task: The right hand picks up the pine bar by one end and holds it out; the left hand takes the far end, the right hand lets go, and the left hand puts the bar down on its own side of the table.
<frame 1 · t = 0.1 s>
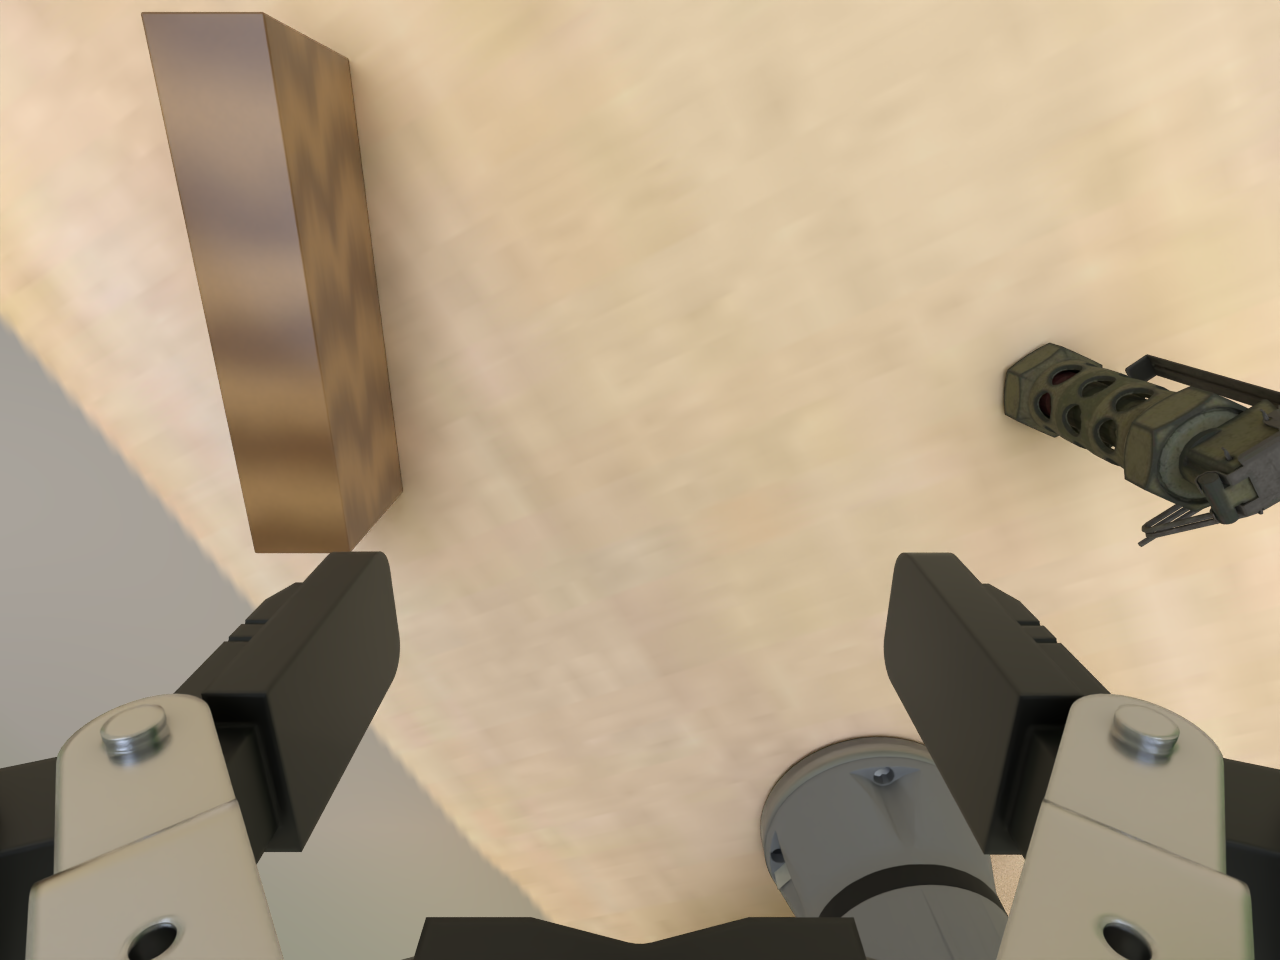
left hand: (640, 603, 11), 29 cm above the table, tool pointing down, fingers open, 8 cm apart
grenade: (1063, 385, 40), on the table
bar: (335, 297, 38), on the table
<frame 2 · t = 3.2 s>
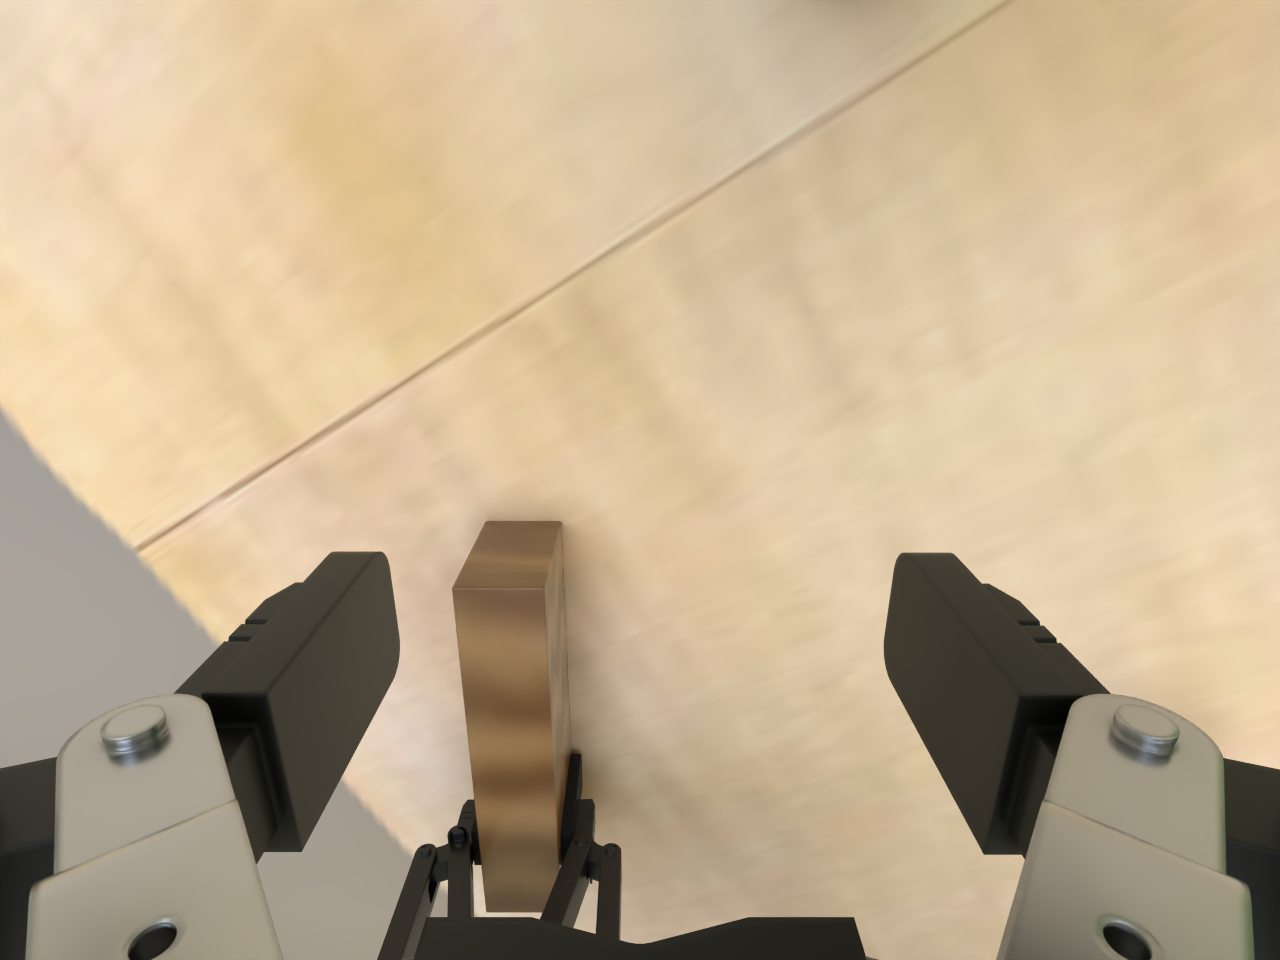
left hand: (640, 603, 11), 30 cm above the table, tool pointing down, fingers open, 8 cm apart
bar: (533, 676, 47), on the table, touching right hand
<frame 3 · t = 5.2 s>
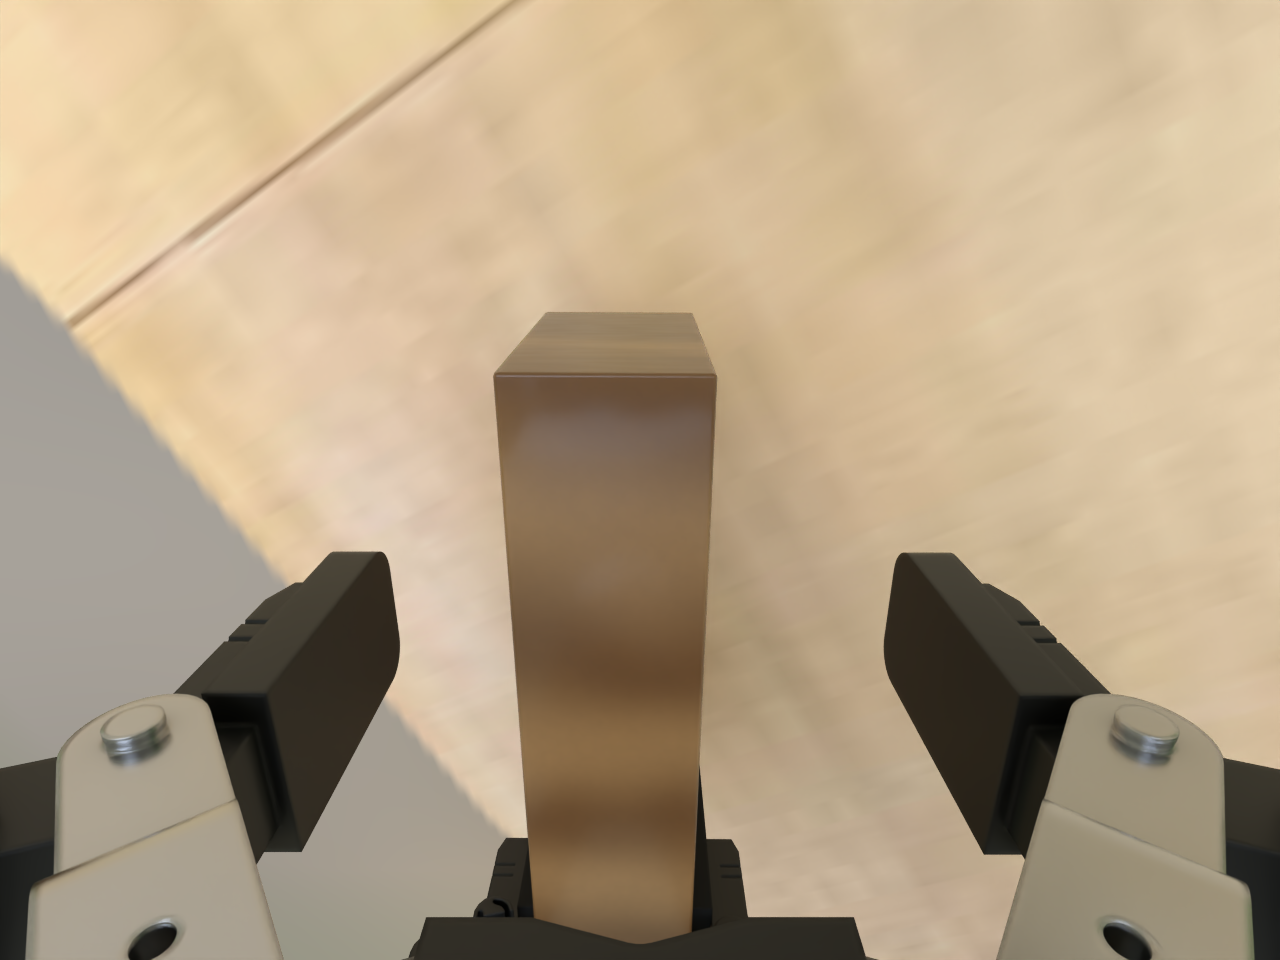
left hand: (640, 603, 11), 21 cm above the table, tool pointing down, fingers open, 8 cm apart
bar: (621, 618, 26), point 8 cm above the table, touching right hand
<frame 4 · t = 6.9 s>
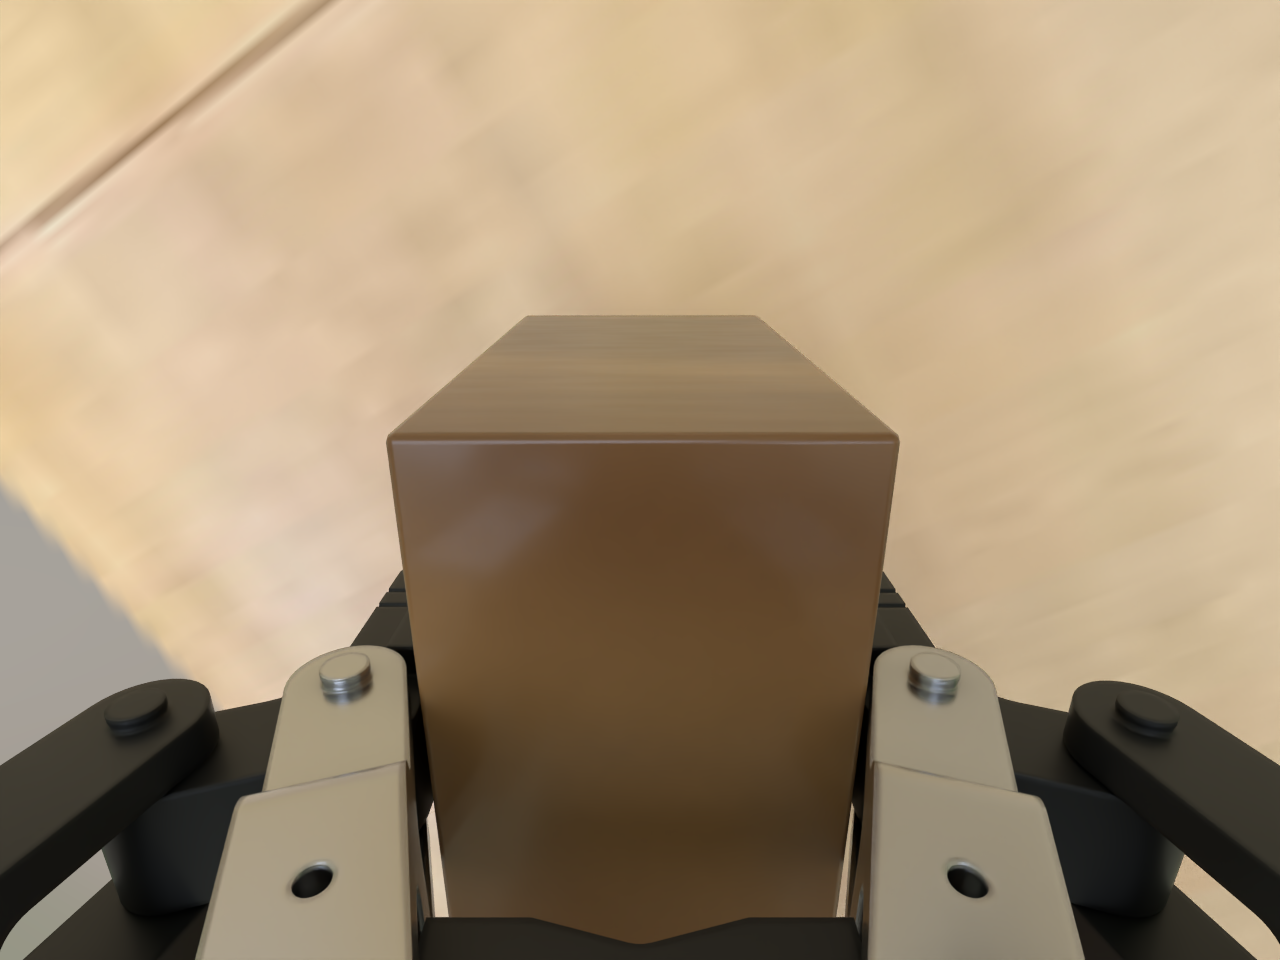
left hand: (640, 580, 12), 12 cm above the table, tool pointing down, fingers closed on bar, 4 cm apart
bar: (641, 767, 18), point 8 cm above the table, touching left hand, right hand
when the right hand's fingers open (9 cm above the table, at t = 7.7 s): bar stays where it is, held by the left hand.
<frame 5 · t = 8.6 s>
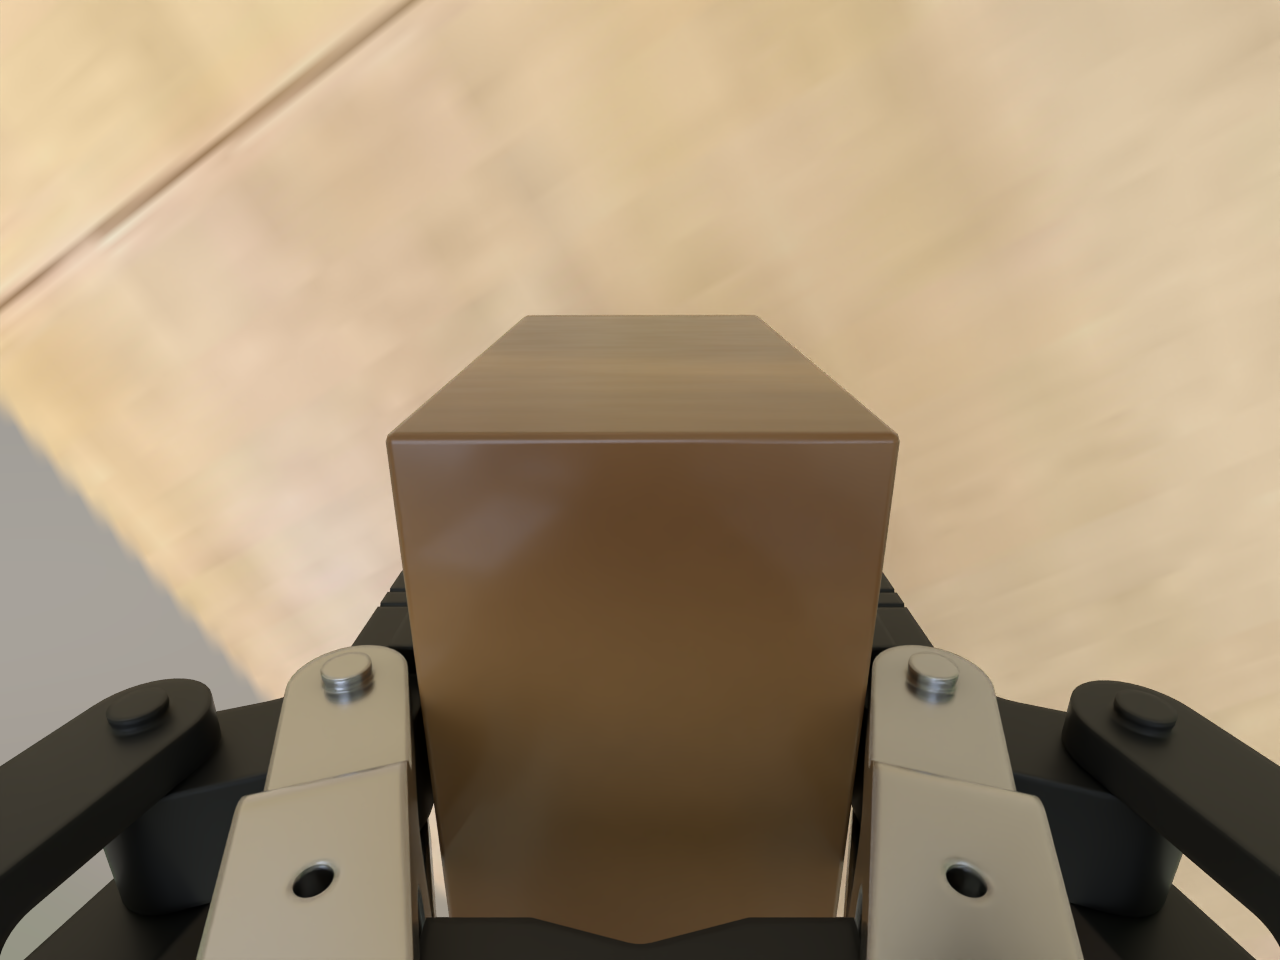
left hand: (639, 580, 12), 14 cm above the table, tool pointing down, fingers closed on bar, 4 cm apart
bar: (641, 766, 18), point 11 cm above the table, touching left hand
when the left hand's fingers open (5 cm above the table, at t = 14.9 s): bar drops 1 cm, on the table.
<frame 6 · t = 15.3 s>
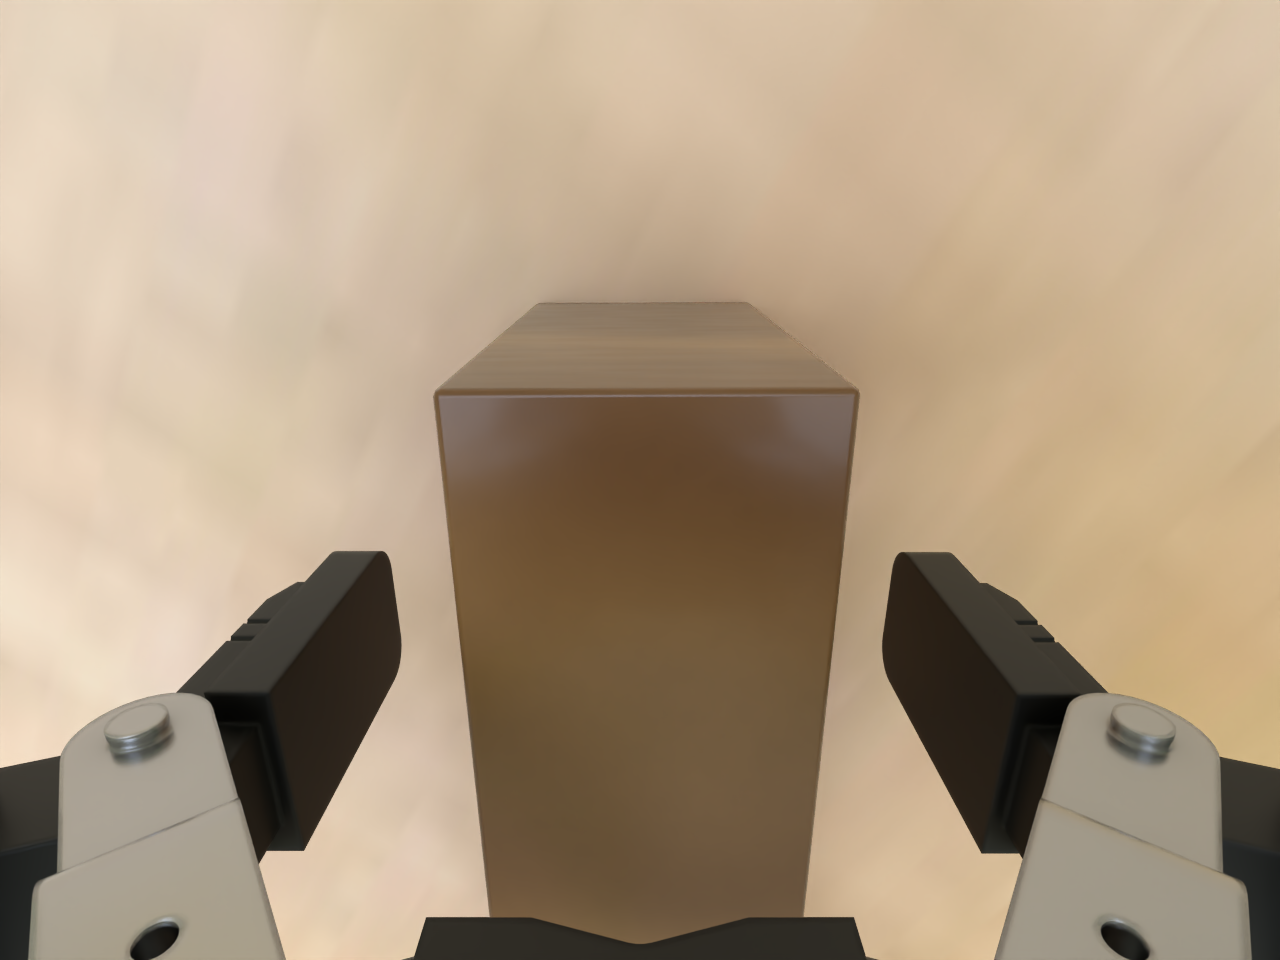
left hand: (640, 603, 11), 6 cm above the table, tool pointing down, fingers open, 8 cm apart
bar: (643, 726, 19), on the table
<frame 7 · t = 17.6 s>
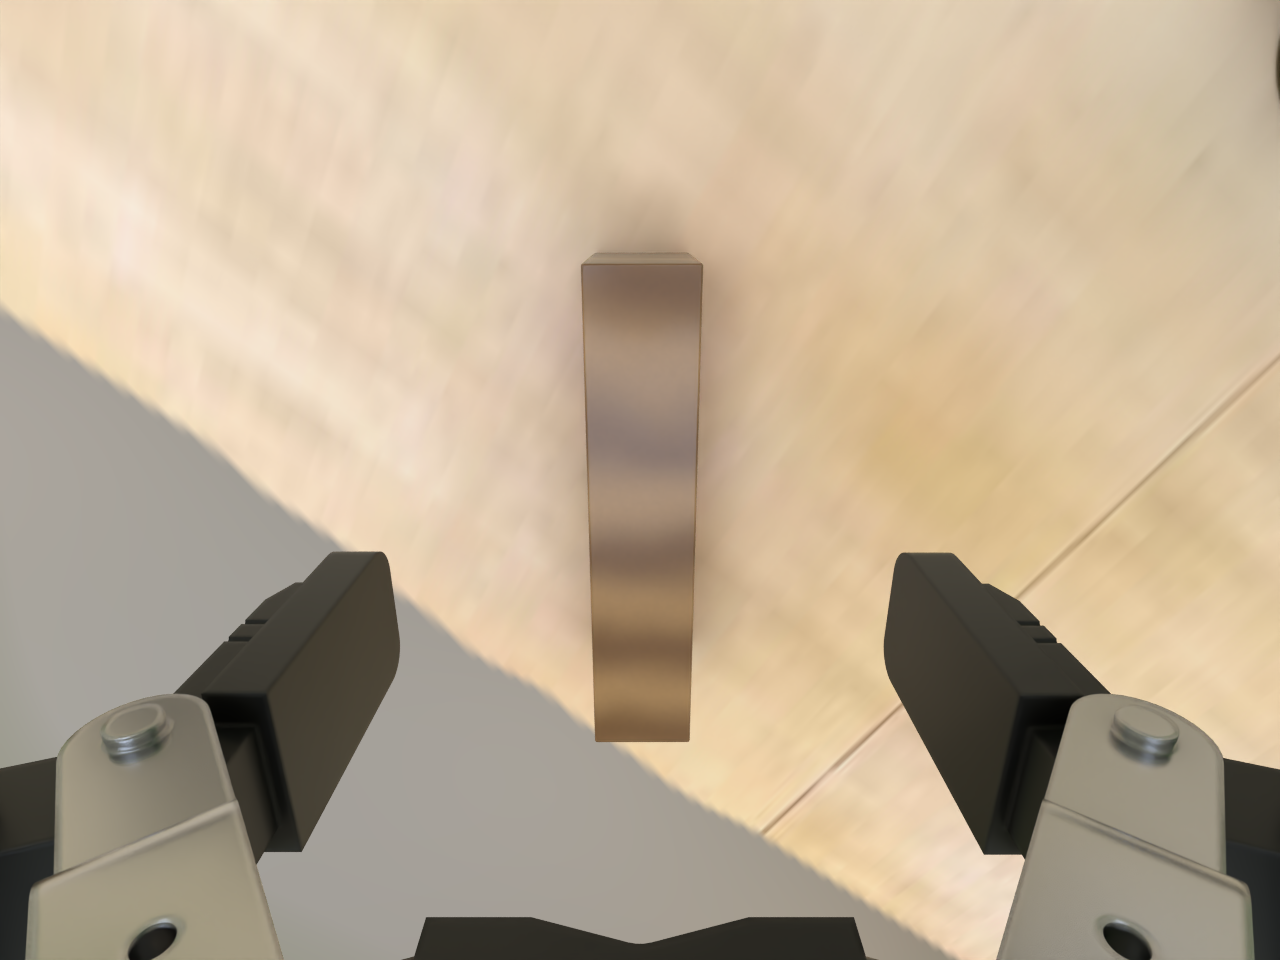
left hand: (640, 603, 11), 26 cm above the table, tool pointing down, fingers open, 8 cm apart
bar: (641, 470, 38), on the table
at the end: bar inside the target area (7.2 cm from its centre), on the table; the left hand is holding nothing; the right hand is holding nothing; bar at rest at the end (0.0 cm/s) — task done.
